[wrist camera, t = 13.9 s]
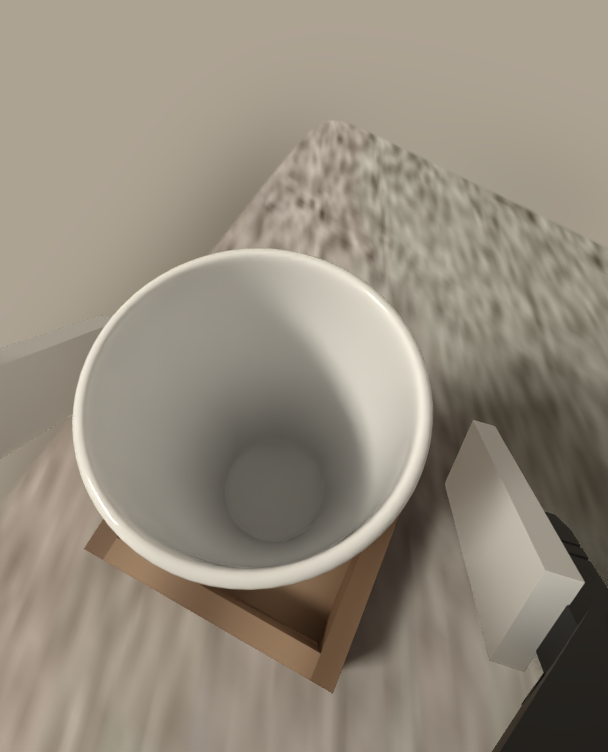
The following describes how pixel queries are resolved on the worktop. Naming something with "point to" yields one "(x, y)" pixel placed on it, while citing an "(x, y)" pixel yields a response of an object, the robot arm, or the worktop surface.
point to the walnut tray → (271, 606)
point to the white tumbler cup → (252, 418)
